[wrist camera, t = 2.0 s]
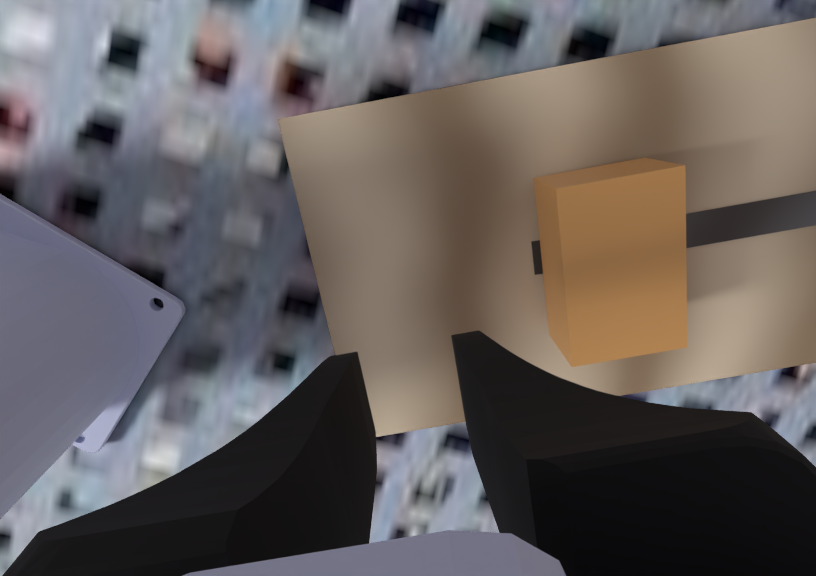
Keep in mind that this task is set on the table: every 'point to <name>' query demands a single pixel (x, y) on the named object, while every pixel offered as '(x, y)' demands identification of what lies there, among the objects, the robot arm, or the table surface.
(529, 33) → the table surface
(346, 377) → the robot arm
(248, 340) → the table surface
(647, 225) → the fader knob
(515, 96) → the fader panel
